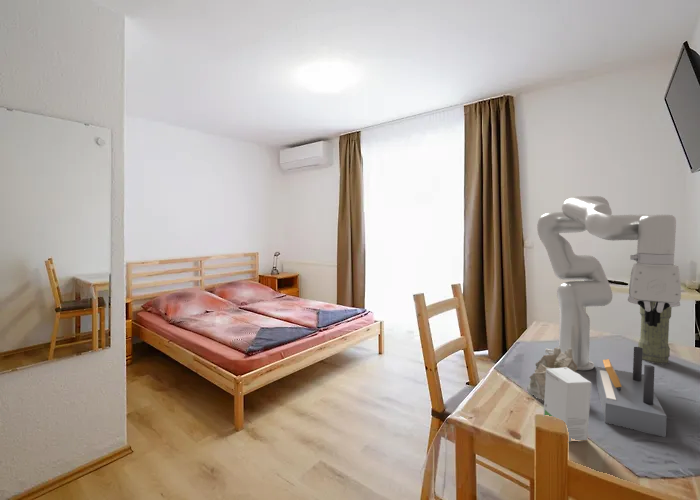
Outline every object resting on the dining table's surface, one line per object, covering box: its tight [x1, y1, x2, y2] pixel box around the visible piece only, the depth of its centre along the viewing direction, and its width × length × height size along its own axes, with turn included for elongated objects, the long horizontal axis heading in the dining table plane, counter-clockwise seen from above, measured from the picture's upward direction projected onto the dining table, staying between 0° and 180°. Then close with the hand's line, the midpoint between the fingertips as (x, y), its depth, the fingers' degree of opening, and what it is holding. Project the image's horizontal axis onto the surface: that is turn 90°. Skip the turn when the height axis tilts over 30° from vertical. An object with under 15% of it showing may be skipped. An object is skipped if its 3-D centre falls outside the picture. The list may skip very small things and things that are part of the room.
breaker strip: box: [595, 366, 668, 438], centre depth 96 cm, size 12×26×6 cm, turn 147°
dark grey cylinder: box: [632, 346, 643, 381], centre depth 100 cm, size 2×2×10 cm
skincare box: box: [543, 367, 592, 441], centre depth 84 cm, size 8×7×16 cm
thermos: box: [637, 301, 673, 365], centre depth 126 cm, size 9×12×35 cm
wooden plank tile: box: [602, 358, 622, 391], centre depth 97 cm, size 2×6×7 cm, turn 145°
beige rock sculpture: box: [526, 346, 578, 401], centre depth 107 cm, size 16×16×15 cm
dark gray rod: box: [643, 364, 655, 405], centre depth 87 cm, size 2×2×10 cm
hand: (651, 324), depth 92 cm, fingers closed
